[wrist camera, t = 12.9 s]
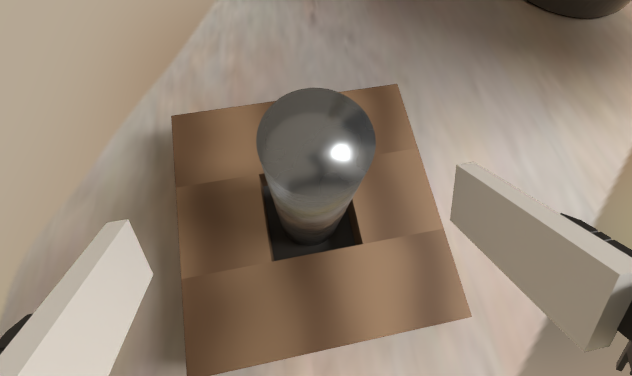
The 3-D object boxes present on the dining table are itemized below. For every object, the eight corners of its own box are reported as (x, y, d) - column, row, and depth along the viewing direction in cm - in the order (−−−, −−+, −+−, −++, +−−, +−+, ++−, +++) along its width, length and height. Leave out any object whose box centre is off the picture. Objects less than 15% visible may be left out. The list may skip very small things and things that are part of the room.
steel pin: (331, 186, 23) (361, 81, 11) (342, 240, 21) (388, 185, 10) (276, 194, 22) (249, 95, 11) (285, 250, 21) (264, 205, 10)
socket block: (385, 110, 26) (397, 83, 23) (445, 312, 21) (471, 316, 18) (189, 139, 24) (171, 115, 21) (206, 365, 20) (187, 380, 16)
